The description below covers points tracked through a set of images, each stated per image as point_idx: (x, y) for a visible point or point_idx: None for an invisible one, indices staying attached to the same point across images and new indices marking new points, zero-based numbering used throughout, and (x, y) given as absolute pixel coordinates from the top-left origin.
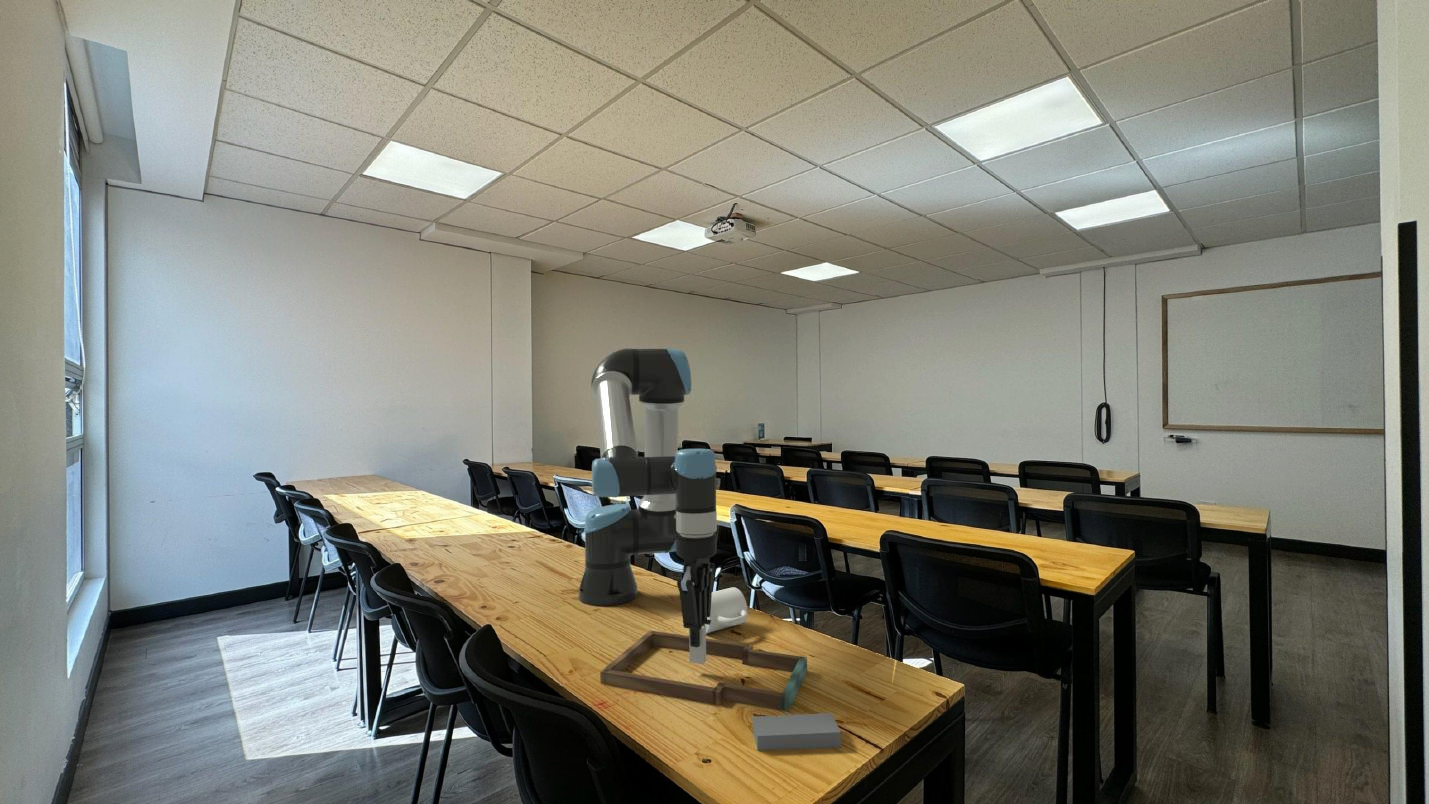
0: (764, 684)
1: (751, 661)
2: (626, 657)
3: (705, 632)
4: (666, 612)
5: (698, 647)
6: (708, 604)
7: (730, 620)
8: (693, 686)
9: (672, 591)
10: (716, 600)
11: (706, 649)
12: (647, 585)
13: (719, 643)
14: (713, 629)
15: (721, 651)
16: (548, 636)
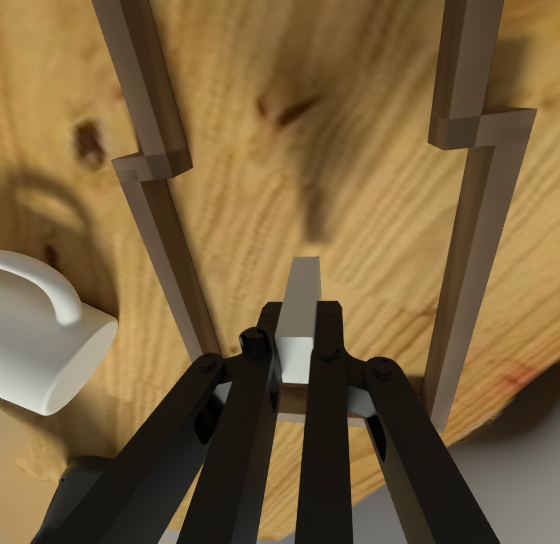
0: (284, 13)
1: (177, 135)
2: (348, 413)
3: (283, 316)
4: (95, 406)
5: (317, 300)
6: (191, 412)
7: (53, 286)
8: (495, 222)
9: (21, 422)
10: (14, 365)
11: (193, 287)
12: (41, 454)
13: (171, 265)
14: (97, 311)
15: (180, 249)
16: (287, 498)
